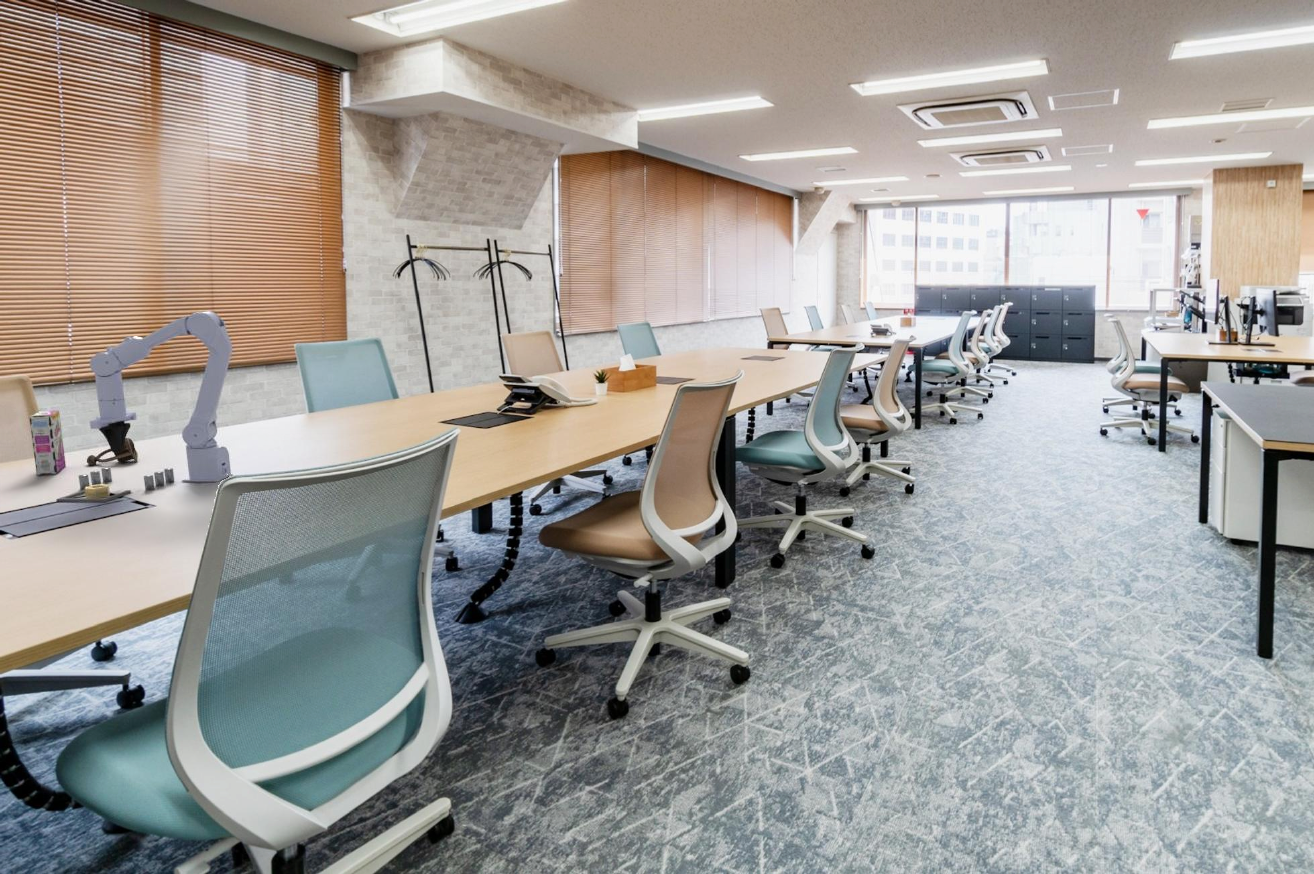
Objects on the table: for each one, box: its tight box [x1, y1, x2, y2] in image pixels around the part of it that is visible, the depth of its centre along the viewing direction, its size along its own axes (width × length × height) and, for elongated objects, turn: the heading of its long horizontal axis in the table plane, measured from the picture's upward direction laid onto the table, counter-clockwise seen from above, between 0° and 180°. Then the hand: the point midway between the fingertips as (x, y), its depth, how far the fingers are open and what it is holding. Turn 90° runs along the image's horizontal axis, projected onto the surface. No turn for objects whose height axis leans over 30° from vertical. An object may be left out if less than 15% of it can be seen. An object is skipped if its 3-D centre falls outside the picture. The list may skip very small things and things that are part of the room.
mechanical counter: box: [86, 437, 139, 466], centre depth 239 cm, size 7×13×10 cm
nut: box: [84, 483, 111, 499], centre depth 201 cm, size 5×5×2 cm
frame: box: [56, 490, 132, 503], centre depth 200 cm, size 12×9×1 cm
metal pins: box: [78, 467, 175, 491], centre depth 212 cm, size 19×10×4 cm, turn 87°
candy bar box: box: [28, 410, 67, 476], centre depth 228 cm, size 11×5×16 cm, turn 25°
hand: (117, 451), depth 213 cm, fingers closed
